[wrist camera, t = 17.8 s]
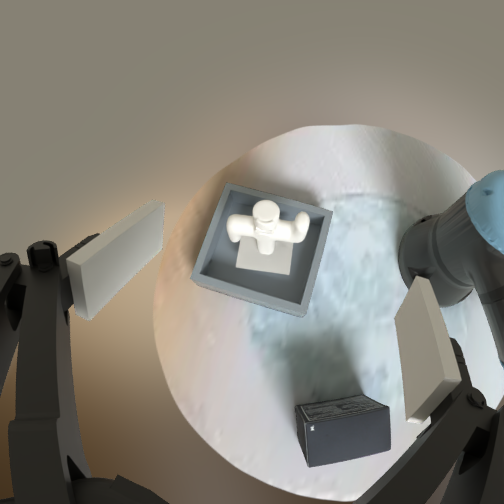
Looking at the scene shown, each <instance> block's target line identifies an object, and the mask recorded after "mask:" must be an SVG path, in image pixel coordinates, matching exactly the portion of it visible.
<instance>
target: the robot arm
mask: <svg viewBox="0 0 504 504" xmlns="http://www.w3.org/2000/svg"><path fill="white" fill-rule="evenodd" d="M164 209H165V203H163V202H159V201H156V200H151V201H149V202H148V203H146V204H145V205H143V206H142V207H140V208H139V209H137V210H136V211H134V212H133V213H131V214H130V215H128V216H126V217H125V218H124V219H122V220H120V221H119V222H117V223H116V224H115V225H113V226H112V227H110V228H109V229H107V230H106V231H105V232H103V233H101V234H98V233H97V234H94V235H91V236H88V237H87V238H86V239H84V240H82V241H81V242H80V243H78V244H77V245H75V247H73V248H71V249H70V250H68V251H67V252H65V253H64V254H63V255H61V256H60V257H58V251H57V246H56V244H55V243H54V242H52V241H38V242H36V243H33V244H32V245H31V246H29V247H28V249H27V255H28V259H29V265H30V266H27V265H22V264H21V263H20V259H19V256H18V255H17V254H16V253H5V254H2V255H0V396H1V392H2V389H3V385H4V382H5V379H6V376H7V372H8V370H9V366H10V364H11V361H12V358H13V355H14V352H15V349H16V346H17V344H18V341H19V345H18V357H17V372H16V417H15V420H12V421H10V423H9V426H8V439H9V440H8V441H9V457H10V468H11V477H12V485H13V492H14V497H11V498H6V499H1V500H0V504H169V503H168V502H166V501H165V500H163V499H162V498H160V497H159V496H158V495H156V494H155V493H154V492H152V491H151V490H149V489H147V488H144V487H142V486H140V485H138V484H136V483H134V482H132V481H129V480H128V479H126V478H124V477H122V476H120V475H117V477H116V478H115V480H113V479H107V478H92V476H91V473H90V470H89V467H88V464H87V462H86V459H85V456H84V452H83V447H82V442H81V436H80V430H79V424H78V418H77V411H76V403H75V395H74V385H73V375H72V363H71V347H70V321H69V320H70V316H69V311H68V309H69V308H70V307H71V305H73V304H74V308H75V312H76V315H78V316H80V317H82V318H84V319H86V320H88V321H90V320H91V319H92V318H93V317H94V316H95V315H96V314H97V313H98V312H99V311H100V310H101V309H102V308H103V307H104V306H105V305H106V304H107V303H108V302H109V301H110V300H111V299H112V297H114V296H115V294H116V293H117V292H118V291H120V290H121V289H122V287H123V286H125V285H126V284H127V282H129V280H131V279H132V278H133V277H134V276H135V274H137V273H138V272H139V271H140V270H141V269H142V268H143V267H144V266H145V265H146V264H147V263H148V262H149V261H150V260H151V259H152V258H153V257H154V256H155V255H156V254H157V253H158V252H160V251H161V250H162V243H163V225H164ZM399 267H400V271H401V275H402V278H403V280H404V282H405V284H406V286H407V288H408V289H409V291H408V293H407V295H406V297H405V299H404V301H403V303H402V305H401V307H400V308H399V310H398V312H397V314H396V316H395V318H394V319H395V325H396V332H397V339H398V346H399V353H400V361H401V370H402V379H403V389H404V400H405V414H406V422H413V423H420V424H422V423H423V422H424V421H425V420H426V419H427V418H428V417H429V416H430V418H431V424H430V425H429V426H428V427H427V428H426V429H425V430H423V431H422V432H421V433H420V434H419V435H418V436H417V437H416V438H417V439H416V441H415V442H414V443H413V444H412V445H411V446H410V447H409V449H408V450H407V451H406V452H405V453H404V454H403V455H402V456H401V457H400V458H399V459H398V461H397V462H396V463H395V464H394V465H393V466H392V467H391V468H390V469H389V470H388V471H387V472H386V473H385V474H384V475H383V476H382V477H381V478H380V479H379V480H378V481H377V482H376V483H375V484H374V485H373V486H371V487H370V488H369V489H368V490H367V491H366V492H365V493H364V494H363V495H362V496H361V497H359V498H358V499H357V500H356V501H355V502H354V503H353V504H425V503H426V502H427V500H428V499H429V498H430V497H431V495H432V494H433V493H434V491H435V490H436V489H437V487H438V486H439V484H440V483H441V482H442V480H443V479H444V478H445V476H446V474H447V473H448V472H449V470H450V469H451V467H452V466H453V464H454V463H455V461H456V460H457V462H456V464H455V467H454V470H453V473H452V476H451V478H450V481H449V484H448V486H447V489H446V491H445V494H444V496H443V498H442V501H441V503H440V504H504V405H503V406H502V407H501V408H500V409H499V410H498V411H497V410H495V409H492V408H490V407H488V406H487V404H486V399H485V397H484V395H483V394H482V393H481V392H480V391H479V390H478V389H476V388H474V387H472V383H471V380H470V376H469V373H468V369H467V366H466V365H465V364H466V363H465V359H464V358H463V353H462V350H461V347H460V346H459V344H458V343H457V341H456V340H455V339H454V338H450V337H449V334H448V331H447V328H446V325H445V322H444V319H443V316H442V313H441V311H440V308H444V307H448V306H452V305H455V304H457V303H459V302H461V301H463V300H464V299H465V298H466V297H467V296H468V295H469V294H470V293H471V292H472V290H473V288H476V291H477V293H478V296H479V298H480V301H481V303H482V306H483V309H484V311H485V314H486V317H487V320H488V323H489V326H490V329H491V332H492V335H493V338H494V341H495V345H496V348H497V351H498V357H499V359H500V363H501V365H502V366H503V368H504V170H498V171H494V172H491V173H489V174H488V175H486V176H485V177H484V178H482V179H481V180H480V181H478V182H476V183H474V184H473V185H471V187H470V188H469V189H468V191H467V192H466V193H465V194H464V195H463V196H462V197H461V198H460V199H458V200H457V201H456V202H455V203H454V204H453V205H452V206H451V207H450V208H448V209H447V210H446V211H445V212H444V213H441V214H435V215H430V216H426V217H424V218H422V219H420V220H418V221H417V222H416V223H414V224H413V225H412V226H411V227H410V228H409V229H408V230H407V232H406V233H405V235H404V236H403V238H402V241H401V244H400V248H399Z"/></svg>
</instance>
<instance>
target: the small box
mask: <svg viewBox="0 0 504 504" xmlns="http://www.w3.org/2000/svg"><path fill="white" fill-rule="evenodd" d="M295 411H296V417H297V418H296V420H297V429H298V432H297V434H298V439H299V443H300V446H301V449H302V452H303V454H304V457H305V460H306V462H307V466H308V467H316V466H322V465H327V464H333V463H338V462H343V461H347V460H352V459H357V458H361V457H365V456H370V455H374V454H378V453H381V452H385V451H389V450H390V449H391V428H390V409H389V406H385V405H383V404H381V403H378V402H377V401H375V400H373V399H371V398H369V397H367V396H365V395H359V396H353V397H348V398H342V399H336V400H331V401H324V402H318V403H311V404H305V405H297V406H296V407H295Z"/></svg>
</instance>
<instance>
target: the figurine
mask: <svg viewBox="0 0 504 504" xmlns="http://www.w3.org/2000/svg"><path fill="white" fill-rule="evenodd" d="M279 215H280V210H279V207H278V205H277V204H276V203H275V202H273V201H270V200H261V201H259V202H257V203H256V204H255V205H254V207H253V216H247V215H240V214H233V215H231V216H229V218H228V220H227V224H226V227H227V232H228V235H229V238H230V240H231V241H232V242H238V241H239V240H240V245H239V250H238V256H237V262H236V267H237V268H244V269H251V270H258V271H265V272H272V273H279V274H286V275H289V273H290V266H291V258H292V250H293V243H299V242H302V241H303V240H304V238H305V236H306V234H307V231H308V228H309V223H310V219H309V216H308V214H307V213H306V212H300V213H298V214H297V216H296V218H295V220H294V221H285V220H280V219H279Z"/></svg>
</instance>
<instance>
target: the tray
mask: <svg viewBox="0 0 504 504" xmlns="http://www.w3.org/2000/svg"><path fill="white" fill-rule="evenodd" d="M261 200H270V201H273V202H275V203H276V204H277V205H278V207H279V210H280V215H279V219H280V220H285V221H294V220H295V218H296V216H297V214H298V213H300V212H306V213H307V214H308V216H309V219H310V223H309V228H308V231H307V234H306V236H305V238H304V240H303V241H302V242H299V243H293V250H292V258H291V266H290V273H289V275H286V274H279V273H272V272H265V271H258V270H251V269H244V268H237V267H236V262H237V256H238V250H239V245H240V240H239V241H238V242H232V241H231V240H230V238H229V235H228V232H227V227H226V224H227V220H228V218H229V216H231V215H233V214H240V215H247V216H253V207H254V205H255V204H256V203H257V202H259V201H261ZM332 214H333V211H330V210H326V209H323V208H319V207H316V206H313V205H309V204H306V203H302V202H299V201H295V200H291V199H288V198H284V197H281V196H277V195H273V194H269V193H266V192H262V191H258V190H254V189H251V188H247V187H243V186H239V185H235V184H231V183H227V182H226V185H225V187H224V190H223V193H222V195H221V198H220V200H219V203H218V205H217V208H216V210H215V213H214V216H213V218H212V221H211V223H210V226H209V229H208V231H207V234H206V237H205V239H204V242H203V245H202V247H201V250H200V253H199V255H198V258H197V261H196V264H195V266H194V269H193V272H192V275H191V277H190V279H191V280H192V281H193V282H194V283H196V284H197V285H198V286H201V287H204V288H207V289H210V290H213V291H216V292H219V293H223V294H226V295H229V296H232V297H235V298H238V299H241V300H245V301H248V302H251V303H254V304H258V305H261V306H264V307H267V308H271V309H274V310H277V311H281V312H284V313H287V314H291V315H294V316H298V317H301V318H302V317H303V316H304V315H306V312H307V309H308V305H309V302H310V298H311V295H312V291H313V288H314V284H315V280H316V277H317V273H318V269H319V266H320V262H321V258H322V254H323V250H324V246H325V242H326V239H327V235H328V231H329V226H330V222H331V218H332Z"/></svg>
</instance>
